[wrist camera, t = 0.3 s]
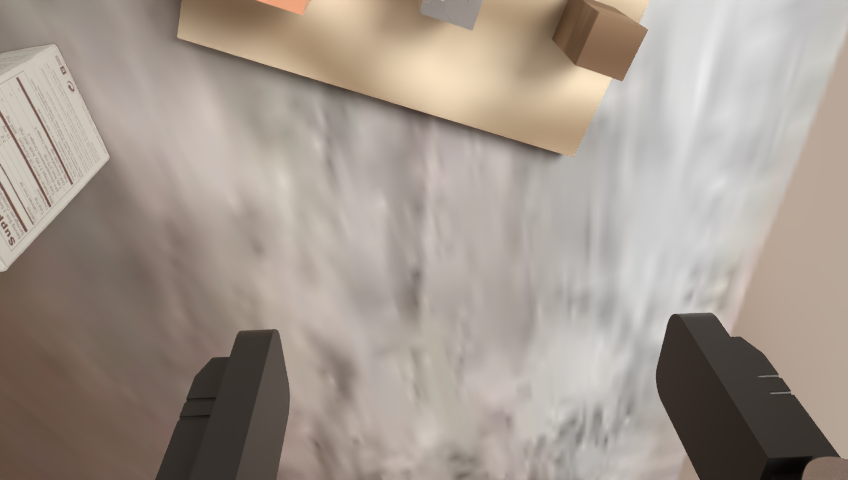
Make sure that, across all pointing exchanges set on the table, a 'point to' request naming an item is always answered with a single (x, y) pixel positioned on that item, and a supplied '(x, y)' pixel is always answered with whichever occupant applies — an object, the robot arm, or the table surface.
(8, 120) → the supplement box
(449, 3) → the steel post
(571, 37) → the walnut post
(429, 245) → the table surface
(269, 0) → the salmon orange block
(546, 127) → the board
